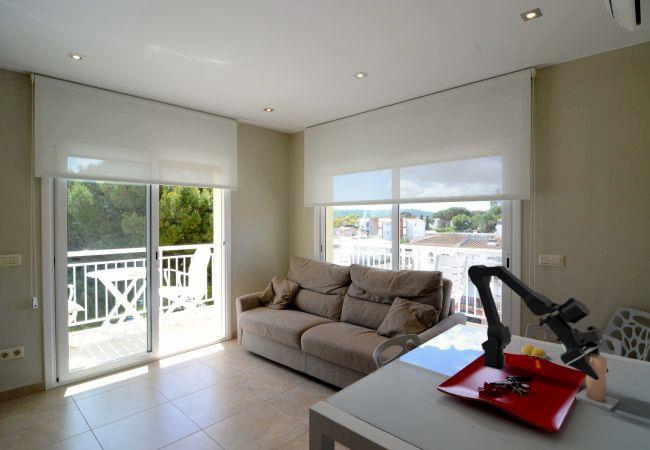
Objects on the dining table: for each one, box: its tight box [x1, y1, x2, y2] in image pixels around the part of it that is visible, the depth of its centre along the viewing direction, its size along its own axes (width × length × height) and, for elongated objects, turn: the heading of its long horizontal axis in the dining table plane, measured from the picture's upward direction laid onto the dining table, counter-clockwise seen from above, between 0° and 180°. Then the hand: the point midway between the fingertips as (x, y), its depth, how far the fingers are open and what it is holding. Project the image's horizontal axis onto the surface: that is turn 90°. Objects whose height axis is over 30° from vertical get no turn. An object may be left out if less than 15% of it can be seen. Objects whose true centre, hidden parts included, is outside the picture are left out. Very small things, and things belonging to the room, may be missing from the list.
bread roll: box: [520, 344, 548, 360], centre depth 148 cm, size 8×9×4 cm
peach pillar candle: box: [585, 354, 608, 402], centre depth 111 cm, size 5×5×13 cm
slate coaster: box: [575, 388, 620, 412], centre depth 111 cm, size 9×9×1 cm
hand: (602, 375), depth 110 cm, fingers open, 9 cm apart
